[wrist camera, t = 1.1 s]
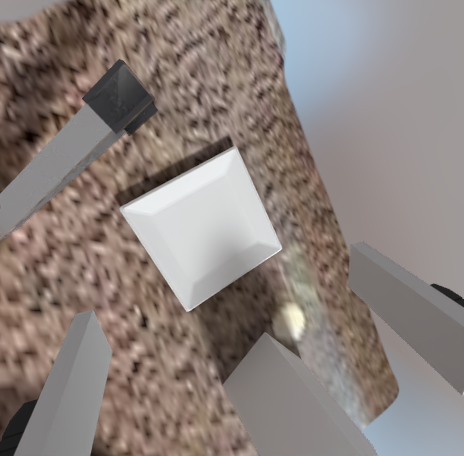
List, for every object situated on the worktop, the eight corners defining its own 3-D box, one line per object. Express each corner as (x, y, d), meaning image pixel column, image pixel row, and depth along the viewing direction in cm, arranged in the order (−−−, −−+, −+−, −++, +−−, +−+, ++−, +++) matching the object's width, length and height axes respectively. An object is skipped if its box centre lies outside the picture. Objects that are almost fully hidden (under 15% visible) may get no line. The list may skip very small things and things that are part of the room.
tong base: (-74, 315, 32) (-89, 325, 30) (-111, 295, 30) (-130, 304, 28) (156, 111, 37) (158, 107, 34) (134, 85, 35) (134, 79, 33)
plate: (277, 246, 48) (283, 249, 46) (184, 307, 44) (187, 313, 42) (231, 146, 41) (236, 144, 40) (118, 206, 37) (118, 208, 35)
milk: (263, 408, 53) (374, 601, 29) (222, 385, 48) (312, 589, 25) (301, 359, 54) (438, 505, 30) (264, 331, 50) (390, 477, 26)
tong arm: (-2, 250, 32) (-9, 255, 31) (-35, 227, 31) (-44, 231, 30) (155, 98, 26) (152, 98, 25) (123, 60, 25) (119, 59, 24)
